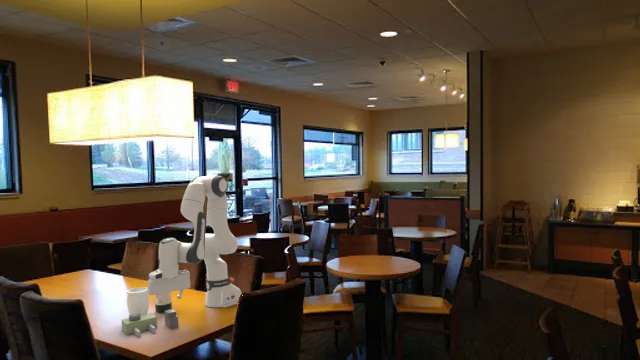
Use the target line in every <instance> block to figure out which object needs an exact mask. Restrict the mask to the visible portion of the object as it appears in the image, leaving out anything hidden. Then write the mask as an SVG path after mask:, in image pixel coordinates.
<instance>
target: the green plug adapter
mask: <svg viewBox="0 0 640 360" xmlns="http://www.w3.org/2000/svg"><path fill="white" fill-rule="evenodd" d="M156 328H158V318H157V316H156V315H155V314H153V313H152V312H150V313H149V312H148V313H147V314H144V315H140V314H139V313H135V314H131V315H130V314H129V315H128V318H123V319H121V330H122V332H123V333H125V335H126V336H128V335H132V334H134V335H135V336H136V337H137V338H141V332H143V331H148V330H149V331H150V333H151V334H156Z"/></svg>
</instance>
